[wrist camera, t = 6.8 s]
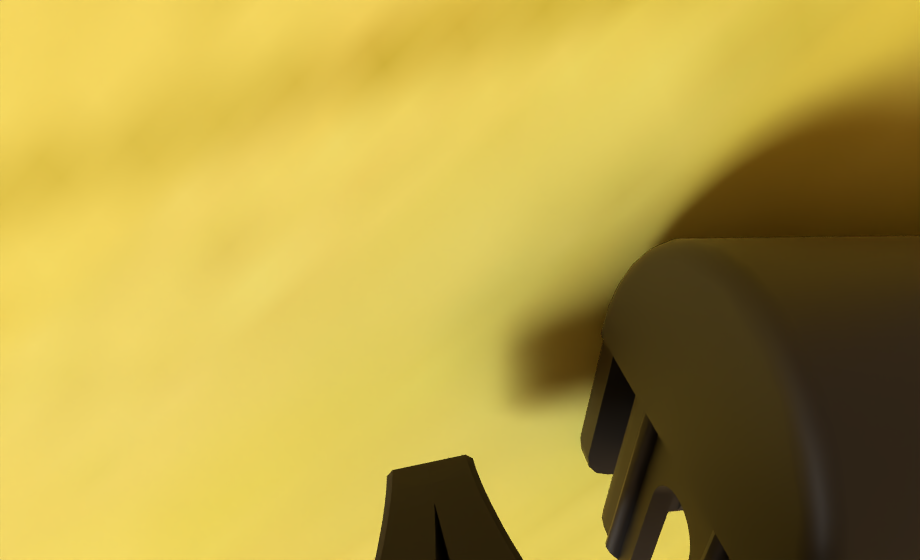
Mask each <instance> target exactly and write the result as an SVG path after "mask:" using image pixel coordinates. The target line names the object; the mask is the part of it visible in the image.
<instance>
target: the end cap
mask: <svg viewBox="0 0 920 560" xmlns="http://www.w3.org/2000/svg"><path fill="white" fill-rule="evenodd" d="M601 335H602V338H603V343H602V347H601V352H600V356H599V360H598V364H597V369H596V373H595V377H594V382H593V386H592V390H591V394H590V399H589V403H588V407H587V411H586V416H585V420H584V424H583V429H582V433H581V448H582V451H583V453H584V456H585V458H586V460H587V463H588V465H589V467H590V468H591V469H593V470H594V471H595V472H596V473H602V474H613V477H612V481H611V484H610V488H609V491H608V495H607V498H606V502H605V505H604V509H603V515H602V520H603V524H604V528H605V530H606V532H607V535H608V537H607V540H606V547H607V549H608V551H609V552H610V553H611V554H612V555H613V556H614V557H616V558H617V559H618V560H651V557H652V555H653V552H654V549H655V546H656V544H657V541H658V538H659V535H660V532H661V530H662V527H663V524H664V521H665V519H666V516H667V513H668V512H670V511H680V510H683V511H684V513H685V516H686V520H687V524H688V529H689V535H690V555H689V560H920V236H840V237H760V238H679V239H674V240H671V241H668V242H666V243H663V244H661V245H658V246H656V247H654V248H652V249H650V250H649V251H648V252H646V253H645V254H644V255H643V256H642V257H641V258H639V259H638V260H637V261H636V262H635V263H634V264H633V265H632V266H631V268H630V269H629V270H628V272H627V273H626V275H625V276H624V278H623V279H622V280H621V282H620V283H619V285H618V287H617V289H616V291H615V293H614V295H613V298H612V300H611V302H610V304H609V307H608V310H607V314H606V317H605V320H604V324H603V327H602V331H601Z"/></svg>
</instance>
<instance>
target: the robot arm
mask: <svg viewBox="0 0 920 560" xmlns="http://www.w3.org/2000/svg"><path fill="white" fill-rule="evenodd" d="M375 560H523V559H522V557H521V556H520V554H519V552H518V551H517V549H516V548H515V546H514V544H513V543H512V541H511V539H510V538H509V536H508V534H507V532H506V531H505V529H504V527H503V525H502V523H501V521H500V520H499V518H498V516H497V514H496V512H495V510H494V508H493V506H492V504H491V502H490V500H489V498H488V496H487V494H486V492H485V490H484V487H483V485H482V483H481V480H480V478H479V475H478V473H477V470H476V467H475V464H474V461H473V458H471V457H469V456H467V455H462V456H457V457H453V458H448V459H443V460H438V461H434V462H429V463H424V464H420V465H415V466H410V467H405V468H401V469H396V470H392V471H391V473H390V474H389V475H388V476H387V487H386V498H385V507H384V514H383V521H382V527H381V532H380V538H379V543H378V548H377V553H376V558H375Z"/></svg>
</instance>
